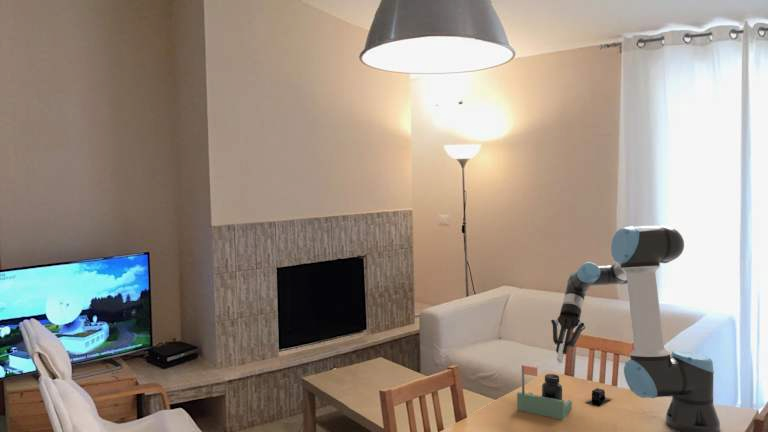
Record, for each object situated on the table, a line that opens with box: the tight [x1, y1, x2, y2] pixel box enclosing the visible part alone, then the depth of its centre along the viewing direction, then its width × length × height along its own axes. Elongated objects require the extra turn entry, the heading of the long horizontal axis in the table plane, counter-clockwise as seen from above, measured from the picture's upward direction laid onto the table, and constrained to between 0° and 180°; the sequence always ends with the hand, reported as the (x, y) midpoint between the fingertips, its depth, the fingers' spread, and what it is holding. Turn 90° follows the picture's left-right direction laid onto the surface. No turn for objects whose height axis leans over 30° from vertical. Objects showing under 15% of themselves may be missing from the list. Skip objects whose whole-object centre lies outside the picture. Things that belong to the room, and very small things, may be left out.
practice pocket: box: [516, 364, 573, 421], centre depth 198 cm, size 10×16×16 cm, turn 55°
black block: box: [585, 388, 613, 408], centre depth 204 cm, size 12×7×5 cm, turn 131°
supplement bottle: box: [541, 373, 563, 400], centre depth 198 cm, size 7×7×12 cm
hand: (559, 360), depth 211 cm, fingers closed
